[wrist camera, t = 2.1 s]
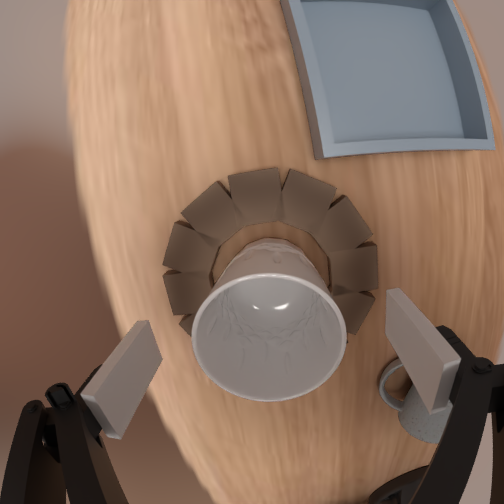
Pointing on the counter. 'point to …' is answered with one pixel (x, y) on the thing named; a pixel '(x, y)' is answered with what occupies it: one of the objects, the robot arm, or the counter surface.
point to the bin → (387, 77)
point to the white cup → (269, 325)
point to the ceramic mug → (415, 410)
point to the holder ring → (262, 211)
